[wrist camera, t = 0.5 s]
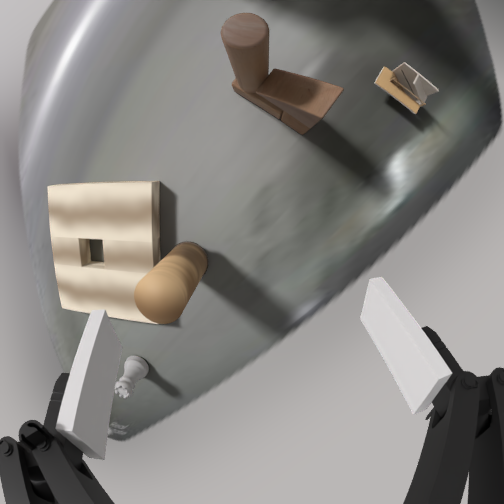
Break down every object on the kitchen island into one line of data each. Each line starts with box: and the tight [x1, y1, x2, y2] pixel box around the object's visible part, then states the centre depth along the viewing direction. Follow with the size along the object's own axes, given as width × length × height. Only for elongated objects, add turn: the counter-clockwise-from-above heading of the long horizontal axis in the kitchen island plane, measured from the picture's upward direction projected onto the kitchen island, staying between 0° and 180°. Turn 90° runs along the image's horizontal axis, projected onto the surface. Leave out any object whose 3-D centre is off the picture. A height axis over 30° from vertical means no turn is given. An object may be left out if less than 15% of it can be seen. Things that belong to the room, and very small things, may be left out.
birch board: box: [48, 181, 161, 324], centre depth 40 cm, size 20×18×3 cm
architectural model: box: [374, 62, 439, 114], centre depth 30 cm, size 3×7×8 cm, turn 60°
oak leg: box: [134, 242, 208, 324], centre depth 34 cm, size 5×5×15 cm
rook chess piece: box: [115, 356, 149, 398], centre depth 43 cm, size 4×4×8 cm
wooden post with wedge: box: [221, 13, 344, 135], centre depth 26 cm, size 4×11×18 cm, turn 56°
